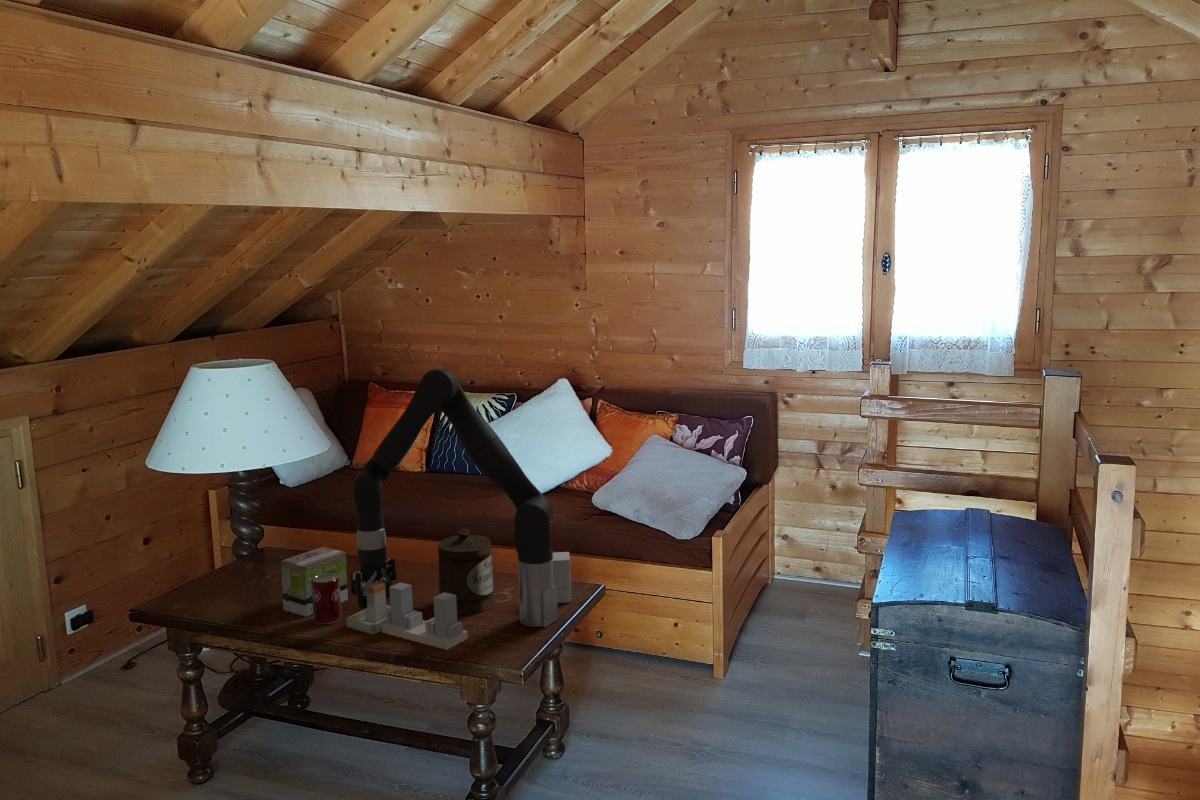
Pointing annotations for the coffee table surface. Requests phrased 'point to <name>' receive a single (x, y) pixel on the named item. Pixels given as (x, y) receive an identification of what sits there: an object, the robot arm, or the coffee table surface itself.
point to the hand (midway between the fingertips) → (375, 602)
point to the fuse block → (411, 626)
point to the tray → (360, 624)
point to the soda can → (326, 598)
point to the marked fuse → (376, 603)
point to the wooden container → (466, 571)
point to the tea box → (310, 577)
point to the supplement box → (562, 576)
